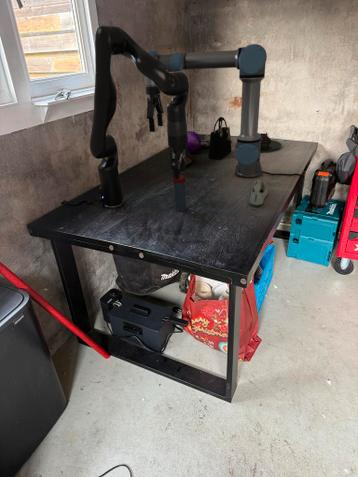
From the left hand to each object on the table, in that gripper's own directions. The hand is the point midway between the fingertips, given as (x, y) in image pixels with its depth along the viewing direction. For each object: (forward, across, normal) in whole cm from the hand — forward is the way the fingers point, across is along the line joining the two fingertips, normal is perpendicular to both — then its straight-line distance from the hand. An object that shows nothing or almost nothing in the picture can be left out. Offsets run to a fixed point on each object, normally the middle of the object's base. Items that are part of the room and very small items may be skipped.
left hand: (179, 174), depth 130 cm
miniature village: (+22, -127, +23) cm, 131 cm away
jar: (+22, -14, -4) cm, 26 cm away
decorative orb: (+22, -106, -22) cm, 110 cm away
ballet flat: (+22, -33, +30) cm, 50 cm away
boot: (+22, -83, -20) cm, 88 cm away
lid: (+6, -14, -4) cm, 16 cm away
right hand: (-6, -53, -27) cm, 60 cm away
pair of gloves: (+22, -132, -14) cm, 134 cm away
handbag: (+22, -102, 0) cm, 104 cm away
